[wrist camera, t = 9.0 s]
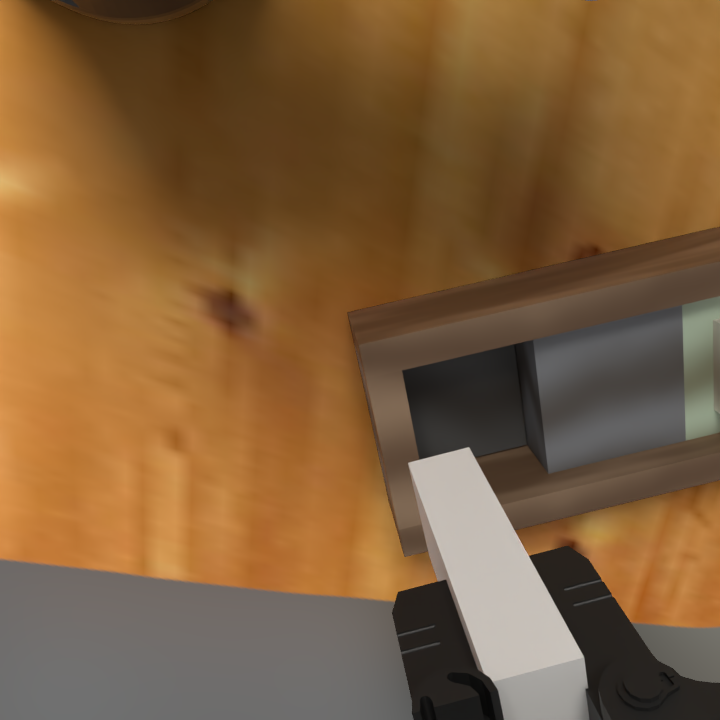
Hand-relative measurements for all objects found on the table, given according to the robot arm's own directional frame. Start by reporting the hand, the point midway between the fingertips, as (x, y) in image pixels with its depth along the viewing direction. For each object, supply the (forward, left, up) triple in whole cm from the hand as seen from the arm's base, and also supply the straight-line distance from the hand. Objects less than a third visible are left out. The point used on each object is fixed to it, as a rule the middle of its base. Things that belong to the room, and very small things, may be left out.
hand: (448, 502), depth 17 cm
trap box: (+10, +19, -26) cm, 34 cm away
